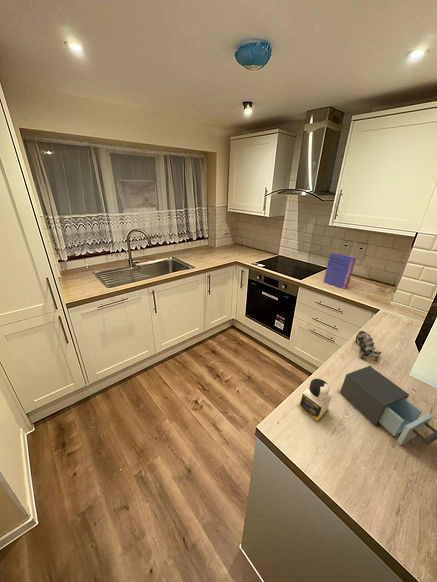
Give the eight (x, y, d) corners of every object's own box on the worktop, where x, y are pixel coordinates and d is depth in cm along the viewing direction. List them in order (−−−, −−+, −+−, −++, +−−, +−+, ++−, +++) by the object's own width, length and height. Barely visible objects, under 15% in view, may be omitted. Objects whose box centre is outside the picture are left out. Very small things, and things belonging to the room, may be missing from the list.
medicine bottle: (298, 406, 85) (305, 382, 79) (309, 396, 89) (316, 372, 84) (317, 421, 80) (325, 396, 74) (327, 409, 84) (335, 385, 79)
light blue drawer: (438, 445, 73) (450, 428, 69) (415, 459, 69) (426, 443, 65) (382, 399, 88) (390, 384, 84) (361, 409, 83) (368, 393, 80)
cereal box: (347, 287, 184) (356, 258, 174) (345, 289, 181) (353, 259, 171) (325, 280, 196) (332, 252, 185) (323, 282, 193) (330, 253, 182)
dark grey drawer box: (398, 413, 83) (409, 394, 79) (374, 425, 79) (384, 406, 75) (362, 383, 95) (369, 365, 91) (339, 392, 91) (346, 374, 87)
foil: (347, 349, 110) (360, 323, 115) (347, 358, 118) (359, 334, 123) (376, 360, 103) (388, 333, 108) (374, 369, 110) (385, 343, 115)
